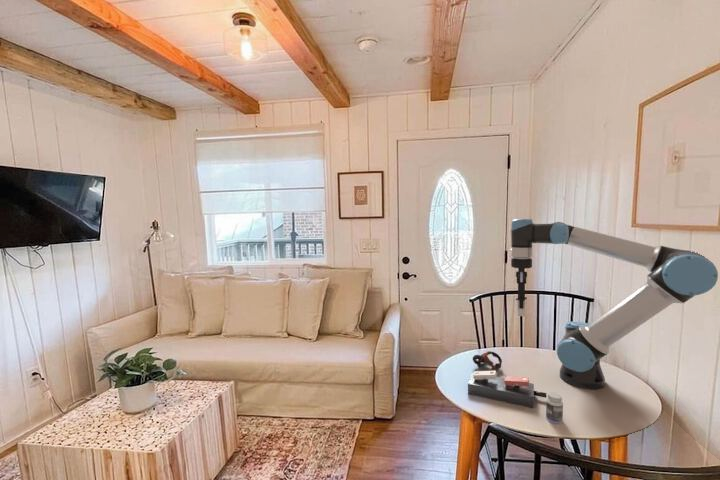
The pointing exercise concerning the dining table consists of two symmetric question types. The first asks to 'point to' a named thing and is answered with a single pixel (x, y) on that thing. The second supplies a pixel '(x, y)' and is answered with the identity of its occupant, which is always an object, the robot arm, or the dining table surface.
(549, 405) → the pill bottle
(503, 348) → the dining table surface
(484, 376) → the rocker
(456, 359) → the dining table surface
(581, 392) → the dining table surface
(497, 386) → the rocker switch panel
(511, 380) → the rocker
